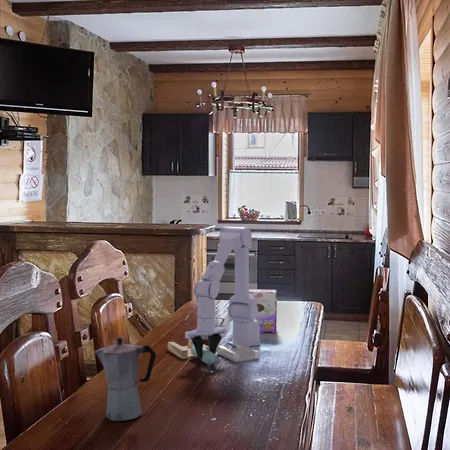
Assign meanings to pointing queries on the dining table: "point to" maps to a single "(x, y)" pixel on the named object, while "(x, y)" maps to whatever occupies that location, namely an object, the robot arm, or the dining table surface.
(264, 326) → the candy box
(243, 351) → the v block
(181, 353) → the beige channel block
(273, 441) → the dining table surface
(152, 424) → the dining table surface
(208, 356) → the light blue cylinder
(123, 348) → the moka pot
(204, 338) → the beverage can
